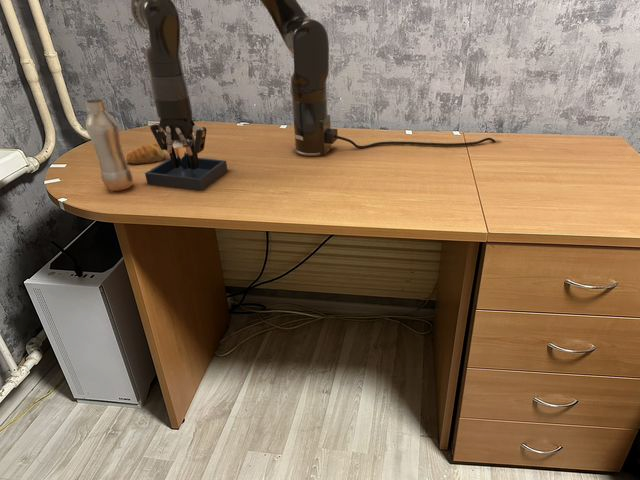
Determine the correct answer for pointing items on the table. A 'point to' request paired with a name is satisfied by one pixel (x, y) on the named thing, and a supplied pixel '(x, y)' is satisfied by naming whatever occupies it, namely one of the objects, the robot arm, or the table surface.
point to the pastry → (146, 154)
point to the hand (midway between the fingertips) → (186, 167)
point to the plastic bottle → (107, 146)
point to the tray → (172, 177)
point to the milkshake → (183, 158)
